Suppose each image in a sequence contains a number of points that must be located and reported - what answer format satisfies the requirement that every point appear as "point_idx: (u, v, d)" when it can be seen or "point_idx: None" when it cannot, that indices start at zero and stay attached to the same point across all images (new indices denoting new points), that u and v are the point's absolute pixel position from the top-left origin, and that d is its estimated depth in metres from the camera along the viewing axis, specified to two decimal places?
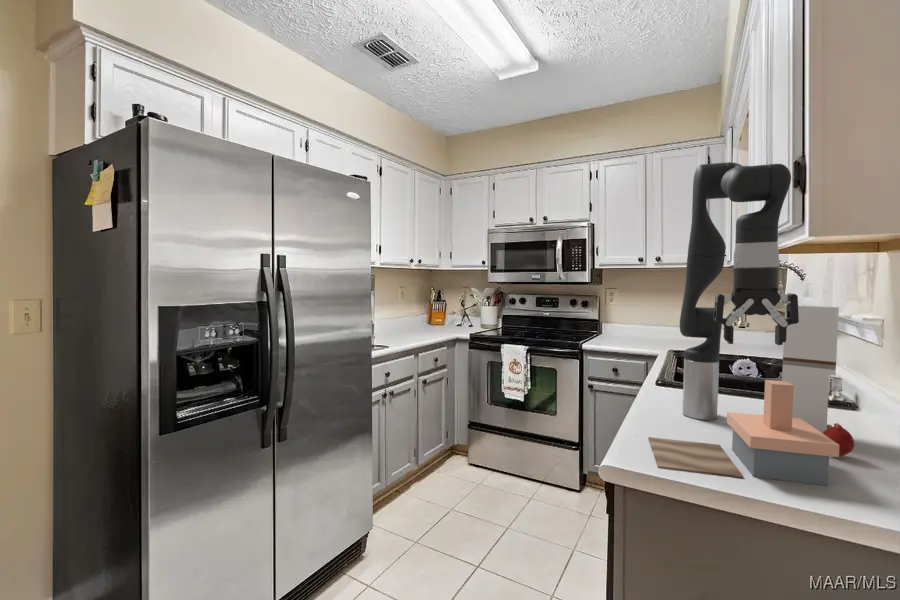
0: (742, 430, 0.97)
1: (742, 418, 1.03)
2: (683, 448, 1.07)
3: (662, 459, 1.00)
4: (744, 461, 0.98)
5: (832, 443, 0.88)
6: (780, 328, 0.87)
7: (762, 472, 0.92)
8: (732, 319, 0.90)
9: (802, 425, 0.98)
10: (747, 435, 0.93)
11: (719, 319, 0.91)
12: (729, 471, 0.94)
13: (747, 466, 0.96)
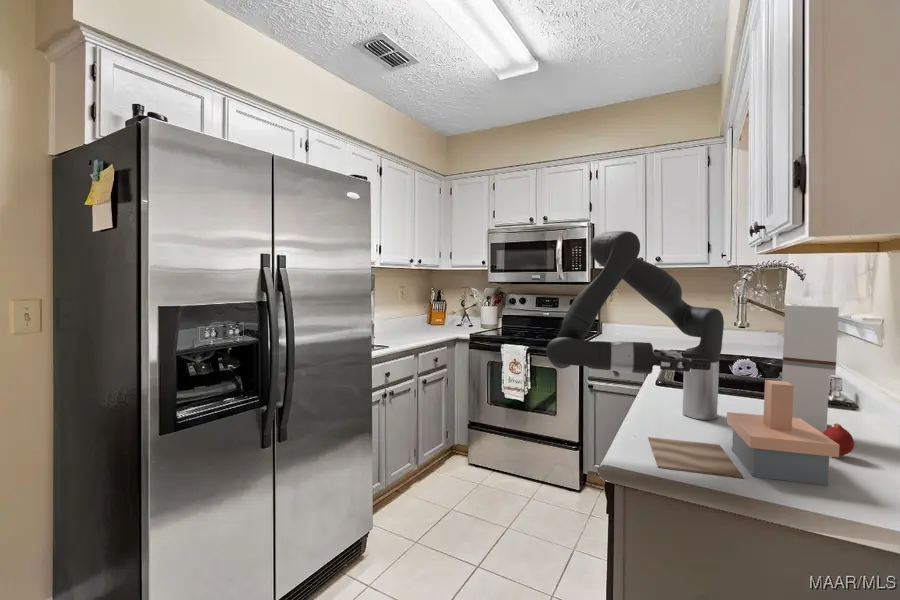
0: (742, 430, 0.97)
1: (742, 418, 1.03)
2: (683, 448, 1.07)
3: (662, 459, 1.00)
4: (744, 461, 0.98)
5: (832, 443, 0.88)
6: (692, 368, 0.98)
7: (762, 472, 0.92)
8: None
9: (802, 425, 0.98)
10: (747, 435, 0.93)
11: None
12: (729, 471, 0.94)
13: (747, 466, 0.96)
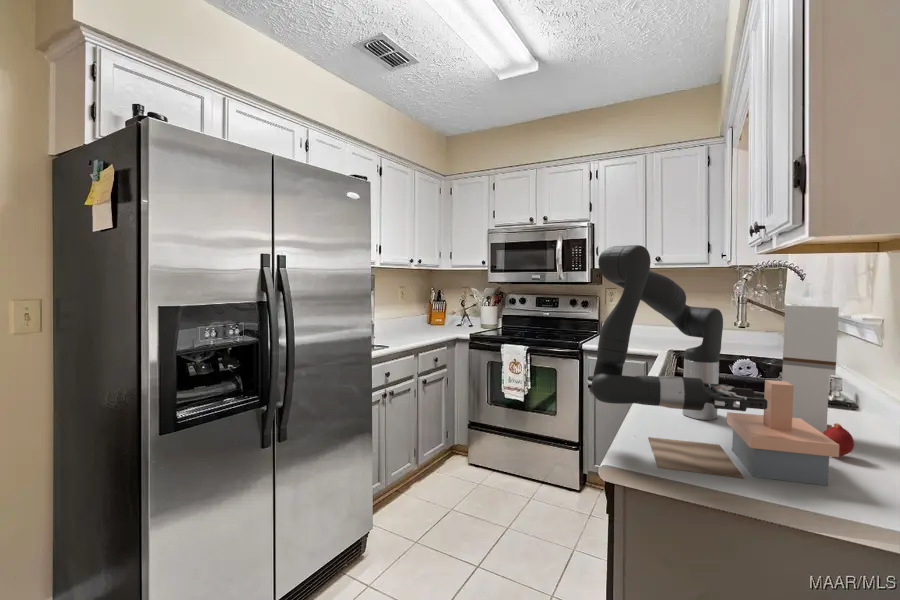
0: (742, 430, 0.97)
1: (742, 418, 1.03)
2: (683, 448, 1.07)
3: (662, 459, 1.00)
4: (744, 461, 0.98)
5: (832, 443, 0.88)
6: None
7: (762, 472, 0.92)
8: None
9: (802, 425, 0.98)
10: (747, 435, 0.93)
11: None
12: (729, 471, 0.94)
13: (747, 466, 0.96)
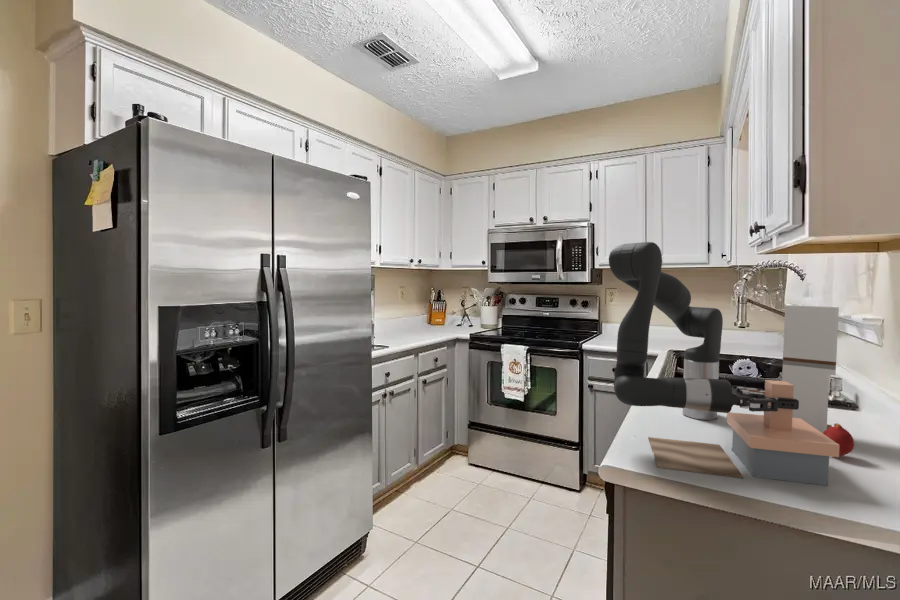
0: (742, 430, 0.97)
1: (742, 418, 1.03)
2: (683, 448, 1.07)
3: (662, 459, 1.00)
4: (744, 461, 0.98)
5: (832, 443, 0.88)
6: None
7: (762, 472, 0.92)
8: None
9: (802, 425, 0.98)
10: (747, 435, 0.93)
11: None
12: (729, 471, 0.94)
13: (747, 466, 0.96)
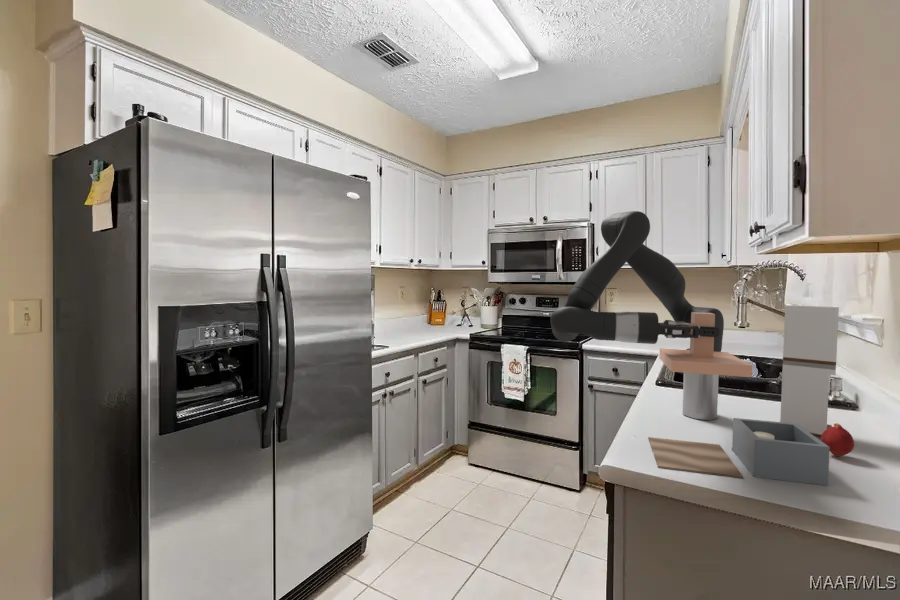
0: (667, 358, 1.00)
1: (671, 351, 1.07)
2: (683, 448, 1.07)
3: (662, 459, 1.00)
4: (744, 461, 0.98)
5: (746, 364, 0.92)
6: None
7: (762, 472, 0.92)
8: None
9: (726, 355, 1.02)
10: (669, 361, 0.97)
11: None
12: (729, 471, 0.94)
13: (747, 466, 0.96)
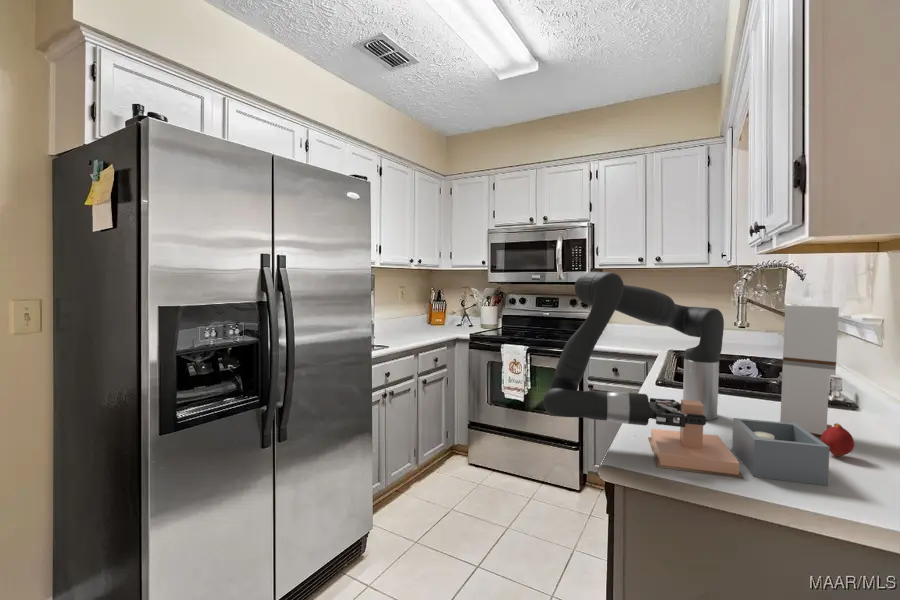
0: (657, 447, 1.02)
1: (662, 435, 1.08)
2: None
3: None
4: (744, 461, 0.98)
5: (733, 461, 0.93)
6: None
7: (762, 472, 0.92)
8: None
9: (715, 442, 1.04)
10: (659, 453, 0.99)
11: None
12: None
13: (747, 466, 0.96)
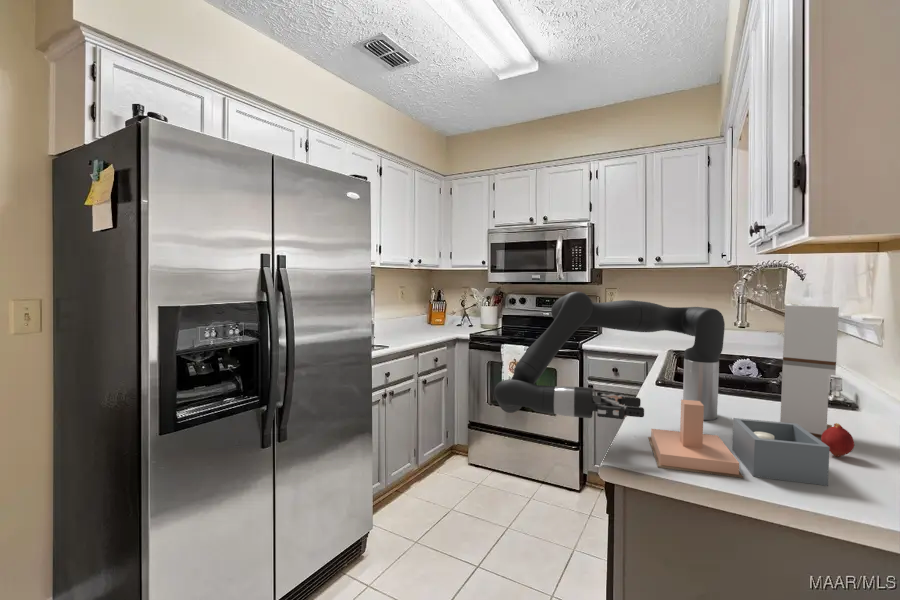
0: (657, 447, 1.02)
1: (662, 435, 1.08)
2: None
3: None
4: (744, 461, 0.98)
5: (733, 461, 0.93)
6: None
7: (762, 472, 0.92)
8: None
9: (715, 442, 1.04)
10: (659, 453, 0.99)
11: None
12: None
13: (747, 466, 0.96)
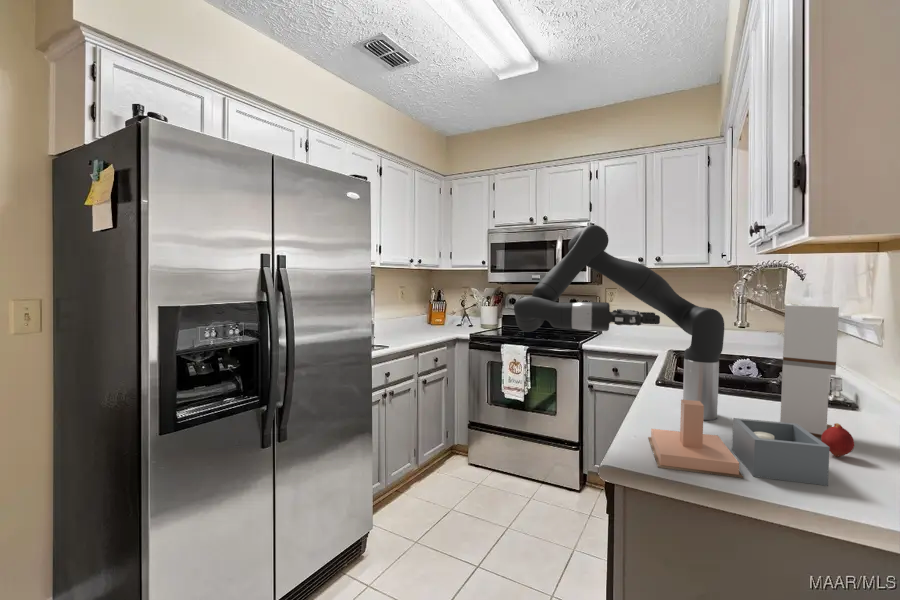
0: (657, 447, 1.02)
1: (662, 435, 1.08)
2: None
3: None
4: (744, 461, 0.98)
5: (733, 461, 0.93)
6: (644, 323, 1.07)
7: (762, 472, 0.92)
8: None
9: (715, 442, 1.04)
10: (659, 453, 0.99)
11: None
12: None
13: (747, 466, 0.96)
